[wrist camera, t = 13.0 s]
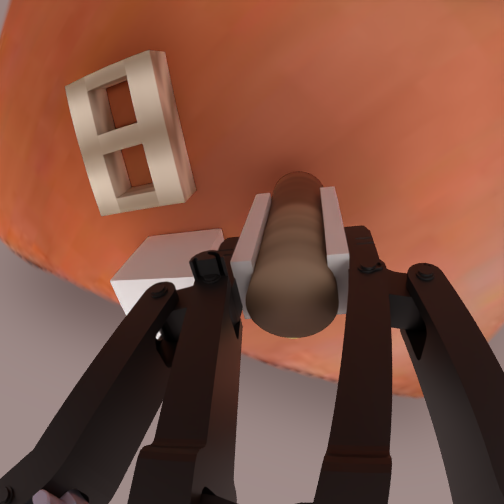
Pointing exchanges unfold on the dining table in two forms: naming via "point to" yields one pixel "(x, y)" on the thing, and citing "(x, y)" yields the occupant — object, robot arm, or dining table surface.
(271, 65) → the dining table surface
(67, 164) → the dining table surface
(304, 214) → the peg
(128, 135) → the socket board
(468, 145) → the dining table surface
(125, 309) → the white cube block
